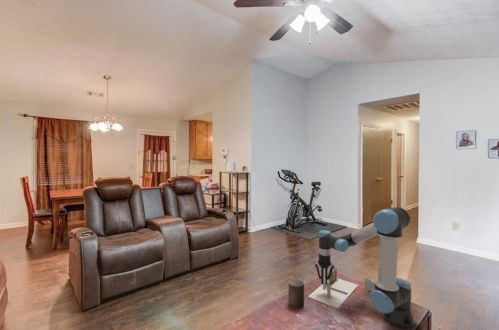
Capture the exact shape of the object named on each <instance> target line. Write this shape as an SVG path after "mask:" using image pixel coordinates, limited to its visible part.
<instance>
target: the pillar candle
mask: <svg viewBox="0 0 499 330" xmlns="http://www.w3.org/2000/svg"><path fill="white" fill-rule="evenodd" d="M287 283H288V306H289V307H290V308H293V309H302V308H303V307H305V283H304V281H303V280H300V279H294V278H293V279H290V280H288V282H287Z"/></svg>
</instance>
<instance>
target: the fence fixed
mask: <svg viewBox="0 0 499 330" xmlns="http://www.w3.org/2000/svg"><path fill="white" fill-rule="evenodd" d="M337 270H338V269H337V267H334V268H333V270H332V274H331V277H330V279H328V280H329V284H332V283H333V282H334V281H335V280H337V277H338V276H337V275H338V273H337V272H338V271H337ZM327 277H328V274H327ZM325 287H326V285H325Z"/></svg>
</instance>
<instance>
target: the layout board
mask: <svg viewBox="0 0 499 330" xmlns="http://www.w3.org/2000/svg"><path fill="white" fill-rule="evenodd" d="M330 285H331V297H330V298H328V297H327V289H326V287H325V290H323V284H321V285H320V286H318V287H317V288H316V289H315V290H314V291H313V292H312V293H310V294H309V295H308V296H307V298H309V300H313V301H316V302H318V303H321V304H324V305H326V306H329V307H331V308H334V309H335V310H339V309H340V308H341V306H342V305H343V304H344V303H345V302H346V301H347V300H348V299H349V298H350V297H351V296H352V294H353V293H354V292H355V290H356V289H357V288H358V287H359V284H356V283H354V282H350V281H347V280H344V279H341V278H337V280H335V281H334V282H333V283H332V284H330Z"/></svg>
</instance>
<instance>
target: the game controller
mask: <svg viewBox="0 0 499 330" xmlns="http://www.w3.org/2000/svg"><path fill="white" fill-rule="evenodd" d="M375 281H376V280H374V279H372V278H370V277H366V278H364V281H363V283H364V287H365V288H366V291H368V292H369V291H370V292H372V291H373V290H374V284H375Z"/></svg>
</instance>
